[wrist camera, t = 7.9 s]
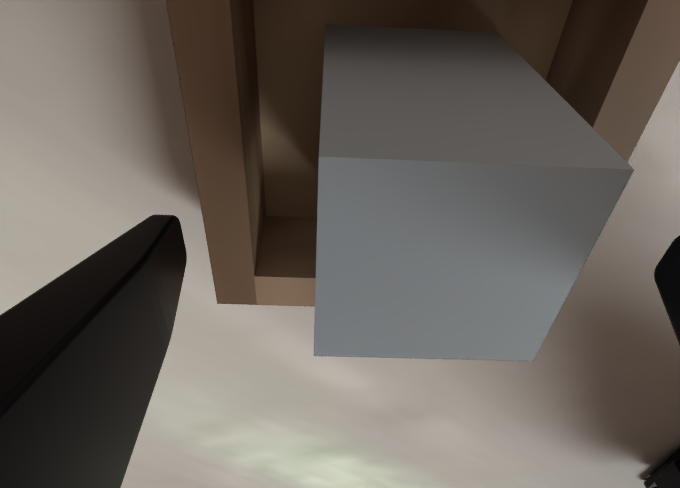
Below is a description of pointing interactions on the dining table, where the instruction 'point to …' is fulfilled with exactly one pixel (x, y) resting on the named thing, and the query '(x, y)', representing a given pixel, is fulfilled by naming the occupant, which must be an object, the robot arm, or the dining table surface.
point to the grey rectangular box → (449, 197)
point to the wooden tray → (306, 97)
